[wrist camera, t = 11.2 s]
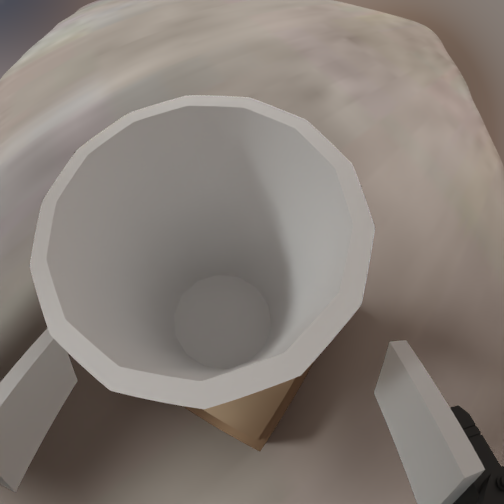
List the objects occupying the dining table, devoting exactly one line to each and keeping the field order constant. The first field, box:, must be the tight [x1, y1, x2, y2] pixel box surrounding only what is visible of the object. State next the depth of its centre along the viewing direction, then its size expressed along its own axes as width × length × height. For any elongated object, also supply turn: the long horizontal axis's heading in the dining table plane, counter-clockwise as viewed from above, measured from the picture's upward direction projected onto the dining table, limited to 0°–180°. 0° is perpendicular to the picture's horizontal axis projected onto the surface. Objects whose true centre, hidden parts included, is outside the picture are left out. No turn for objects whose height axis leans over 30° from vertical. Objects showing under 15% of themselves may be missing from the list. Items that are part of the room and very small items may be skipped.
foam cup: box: [30, 95, 375, 409], centre depth 14 cm, size 10×9×13 cm
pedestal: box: [183, 362, 314, 451], centre depth 22 cm, size 12×12×4 cm
